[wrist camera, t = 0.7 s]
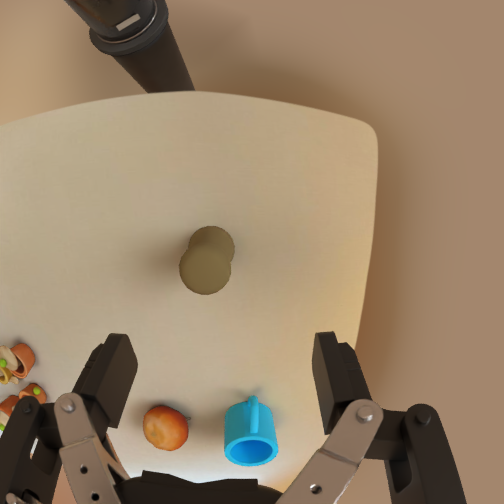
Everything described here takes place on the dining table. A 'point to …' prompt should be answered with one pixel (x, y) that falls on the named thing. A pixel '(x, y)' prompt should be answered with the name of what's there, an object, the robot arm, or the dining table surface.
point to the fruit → (165, 428)
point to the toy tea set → (8, 369)
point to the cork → (207, 260)
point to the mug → (250, 434)
